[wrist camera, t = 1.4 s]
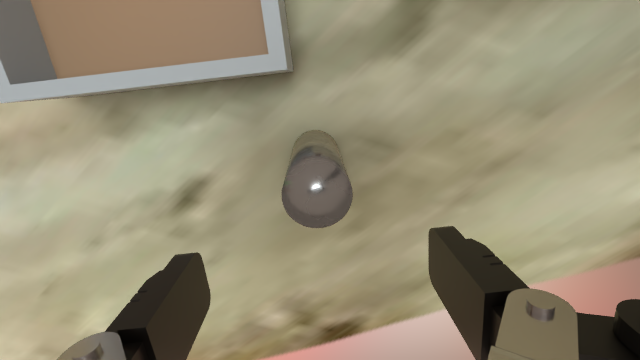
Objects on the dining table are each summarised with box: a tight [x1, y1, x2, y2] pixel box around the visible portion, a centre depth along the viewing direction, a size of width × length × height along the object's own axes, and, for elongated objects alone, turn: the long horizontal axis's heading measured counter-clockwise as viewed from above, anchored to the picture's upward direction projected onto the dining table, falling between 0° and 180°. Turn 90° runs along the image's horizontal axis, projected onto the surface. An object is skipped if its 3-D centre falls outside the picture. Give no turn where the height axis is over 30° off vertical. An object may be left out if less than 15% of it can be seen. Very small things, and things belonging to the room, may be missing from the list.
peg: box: [282, 130, 352, 228], centre depth 23 cm, size 4×4×11 cm
